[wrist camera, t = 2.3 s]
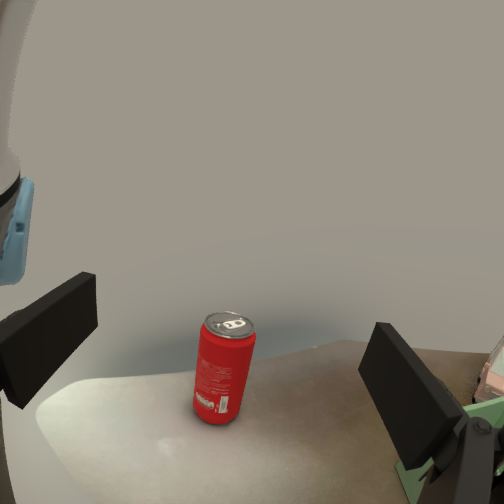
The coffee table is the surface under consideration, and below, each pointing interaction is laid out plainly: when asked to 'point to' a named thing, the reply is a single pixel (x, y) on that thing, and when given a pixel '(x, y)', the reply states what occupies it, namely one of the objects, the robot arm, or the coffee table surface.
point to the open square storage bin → (492, 411)
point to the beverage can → (222, 366)
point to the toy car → (492, 376)
